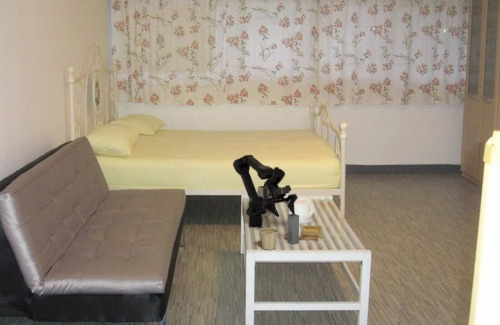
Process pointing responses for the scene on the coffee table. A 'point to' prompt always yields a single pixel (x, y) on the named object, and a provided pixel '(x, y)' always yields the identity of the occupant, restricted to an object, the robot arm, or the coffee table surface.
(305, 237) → the door edge strip
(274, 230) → the flower pot
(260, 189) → the coffee box
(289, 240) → the bar
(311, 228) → the keeper
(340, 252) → the coffee table surface
